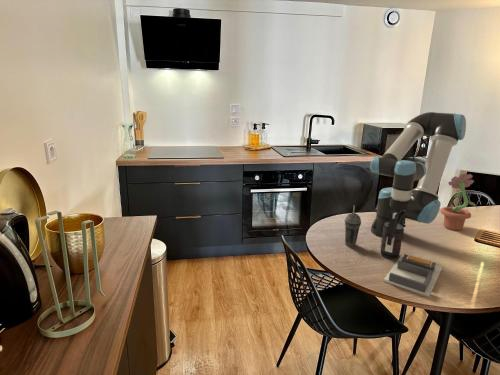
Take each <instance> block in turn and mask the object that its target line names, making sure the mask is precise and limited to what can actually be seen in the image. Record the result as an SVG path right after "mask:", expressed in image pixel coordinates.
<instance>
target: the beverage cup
mask: <svg viewBox="0 0 500 375" xmlns="http://www.w3.org/2000/svg"><path fill="white" fill-rule="evenodd" d="M355 207H356V204H354V205H353V209H352V210H353V211H352V212H351V213H348V214H347V215H346V217H345V219H344V227H345V230H344V231H345V236H344V238H345V239H344V241H345V243H344V244H345V246H346V247H349V248H354V247H356V245H357V240H358V235H359V230H360V227H361V224H362V221H361V219H362V218H361V217H360V215H359V214H357V213H355V209H356V208H355Z"/></svg>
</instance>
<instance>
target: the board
mask: <svg viewBox="0 0 500 375" xmlns="http://www.w3.org/2000/svg"><path fill="white" fill-rule="evenodd" d="M399 256H400V257H398V258H397V261H396V262H395V263H394V265H393V266H392V267H391V269H390V270H389V272H387V274H386V276H385V277H384V278H383V282H384V283H387V284H390V285H394V286H396V287H399V288H402V289H405V290H408V291H411V292H413V293H417V294H418V295H419V294H420V295H422V296H424V297H428V298H430V297H431V295H432V293H433V289H434V286H436V282H437V280H438V278H439V276H440V274H441V271H442V269H443V267H442V266H439V265H436V264H437V263H436V262H435V261H432V263H431V264H430V266H429V265H425V264H422V263H418V262H415V261H412V260H408V257H409V255H408V254H404V255H399Z"/></svg>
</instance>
